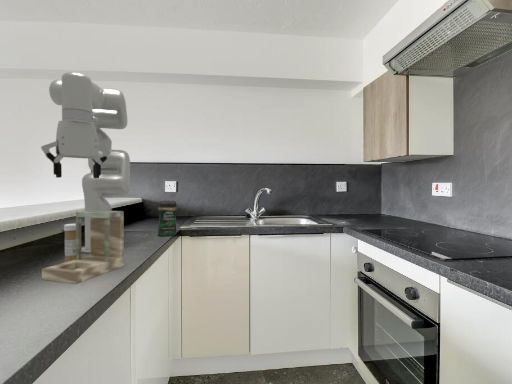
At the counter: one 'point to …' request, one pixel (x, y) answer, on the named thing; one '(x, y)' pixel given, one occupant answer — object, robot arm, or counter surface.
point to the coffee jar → (167, 218)
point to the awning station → (93, 249)
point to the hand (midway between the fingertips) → (78, 177)
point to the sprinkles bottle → (70, 242)
